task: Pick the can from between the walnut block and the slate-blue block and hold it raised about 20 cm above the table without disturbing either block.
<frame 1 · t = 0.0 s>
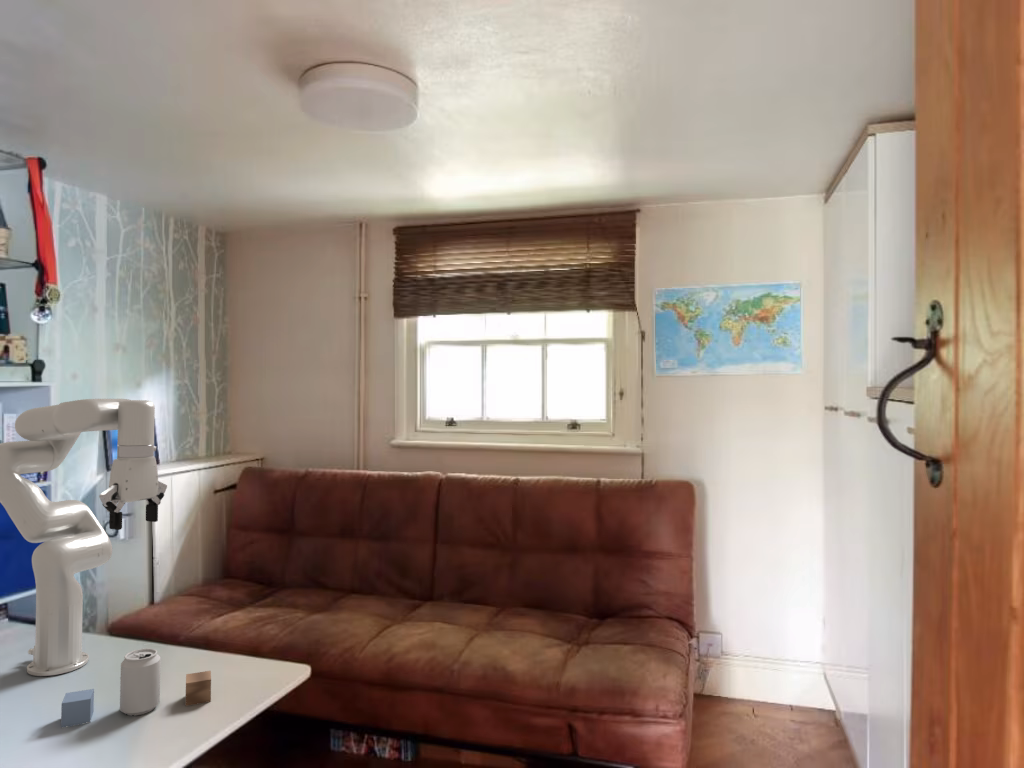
hand: (134, 525, 155), 37 cm above the table, tool pointing down, fingers open, 9 cm apart
can: (139, 709, 142), on the table
walnut block: (198, 699, 147), on the table
slate block: (77, 720, 137), on the table
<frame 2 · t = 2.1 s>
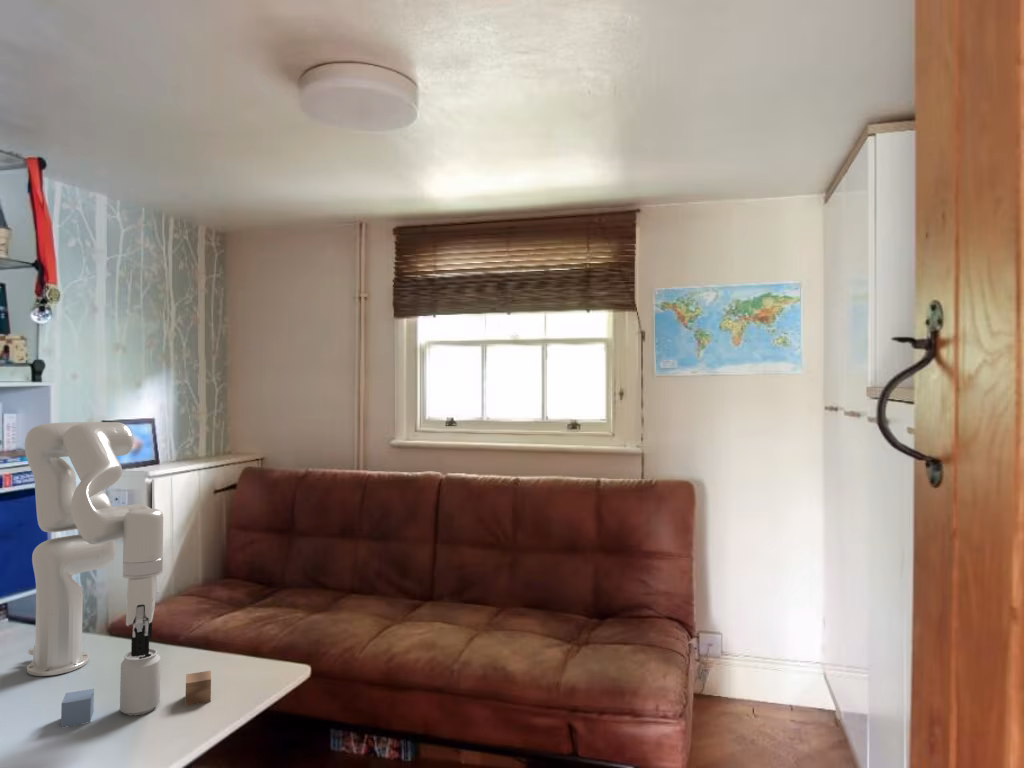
hand: (141, 647, 142), 13 cm above the table, tool pointing down, fingers open, 9 cm apart
nothing on the table moved.
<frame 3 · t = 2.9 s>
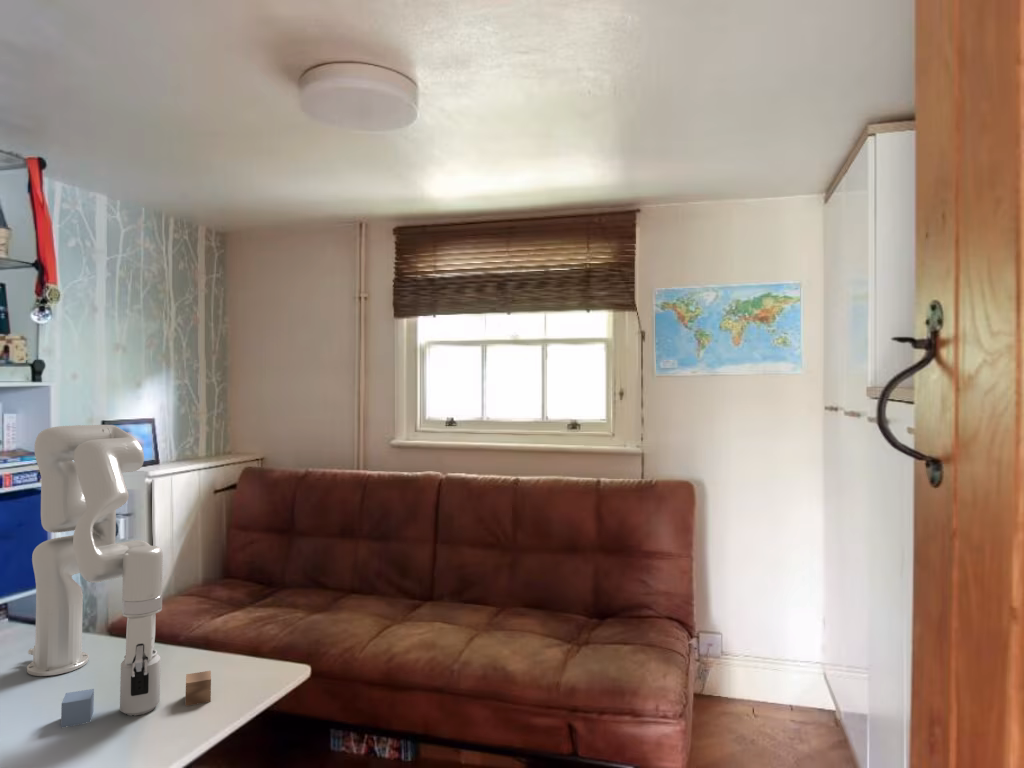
hand: (141, 685, 141), 5 cm above the table, tool pointing down, fingers open, 9 cm apart
nothing on the table moved.
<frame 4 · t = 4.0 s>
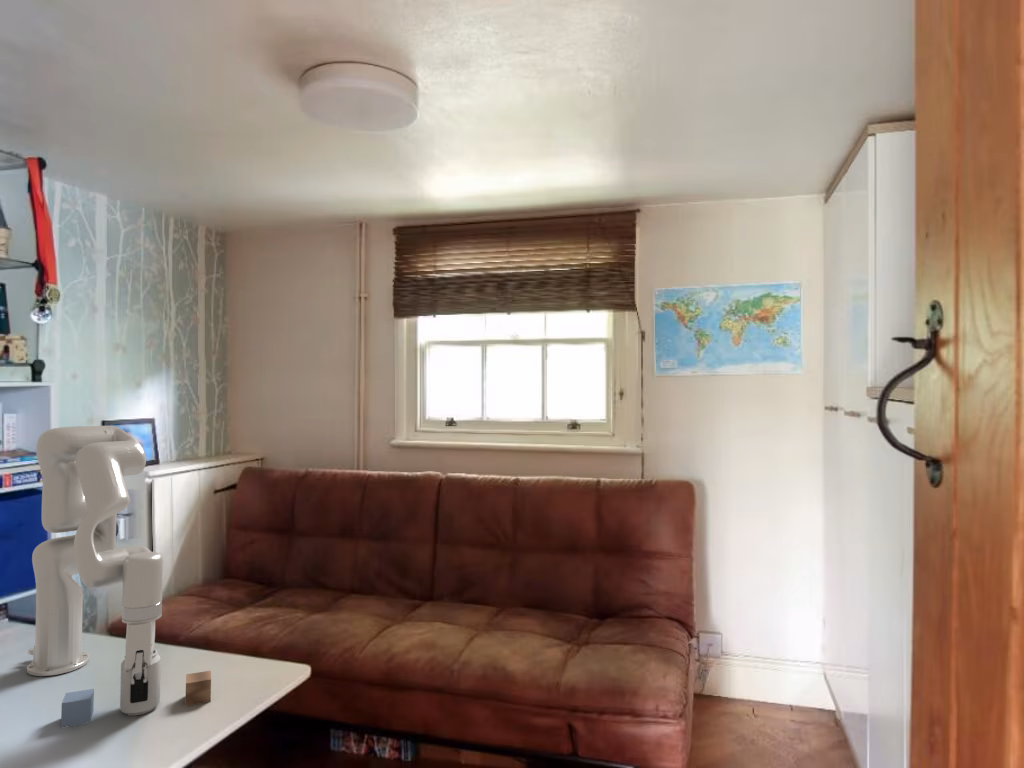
hand: (140, 692, 142), 3 cm above the table, tool pointing down, fingers closed on can, 7 cm apart
can: (140, 709, 142), on the table, touching gripper
everything else where it was.
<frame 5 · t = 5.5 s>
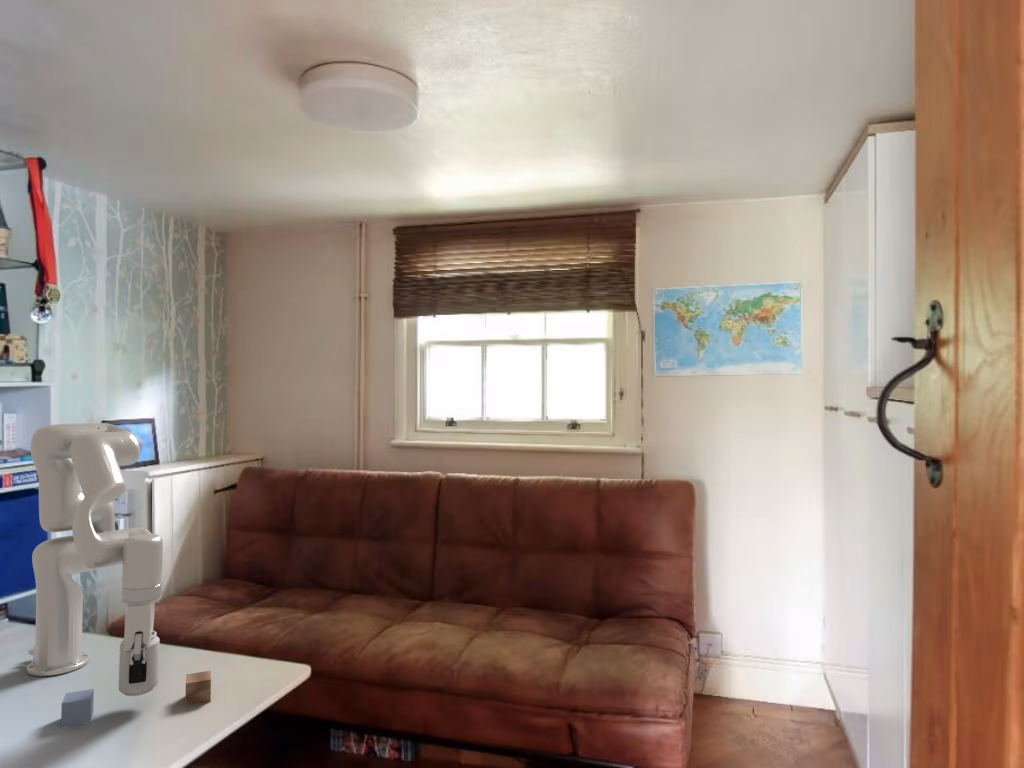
hand: (139, 673, 142), 7 cm above the table, tool pointing down, fingers closed on can, 7 cm apart
can: (138, 690, 142), point 4 cm above the table, touching gripper
everything else where it was.
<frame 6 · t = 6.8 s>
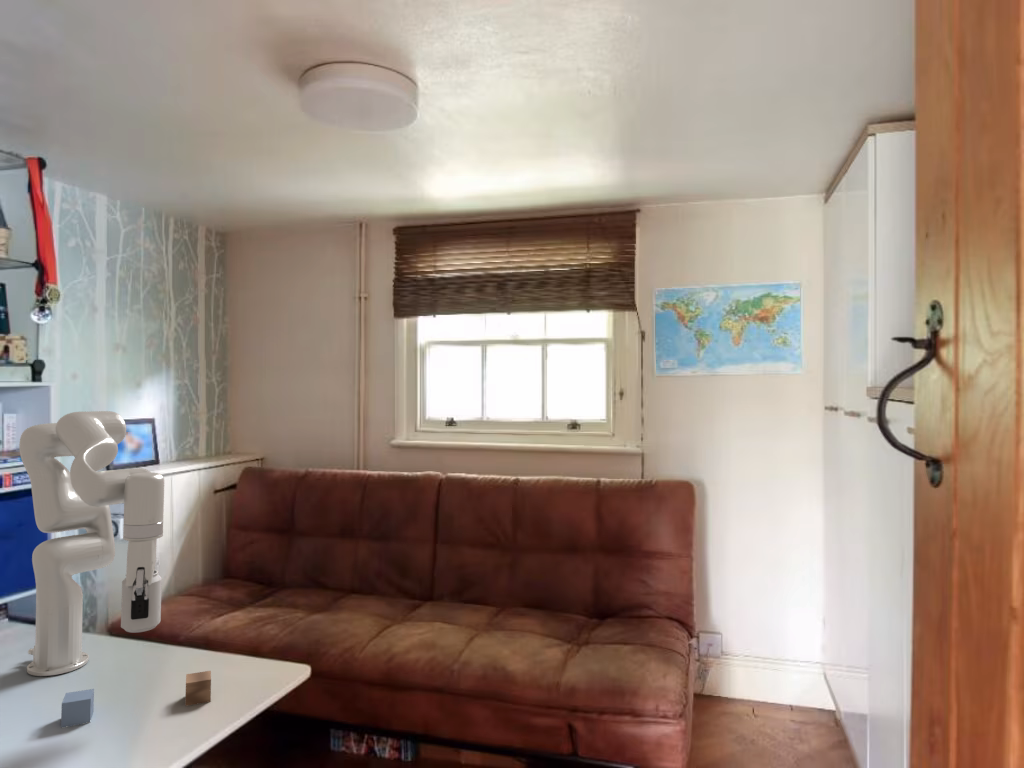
hand: (141, 611, 142), 21 cm above the table, tool pointing down, fingers closed on can, 7 cm apart
can: (140, 628, 142), point 17 cm above the table, touching gripper
everything else where it was.
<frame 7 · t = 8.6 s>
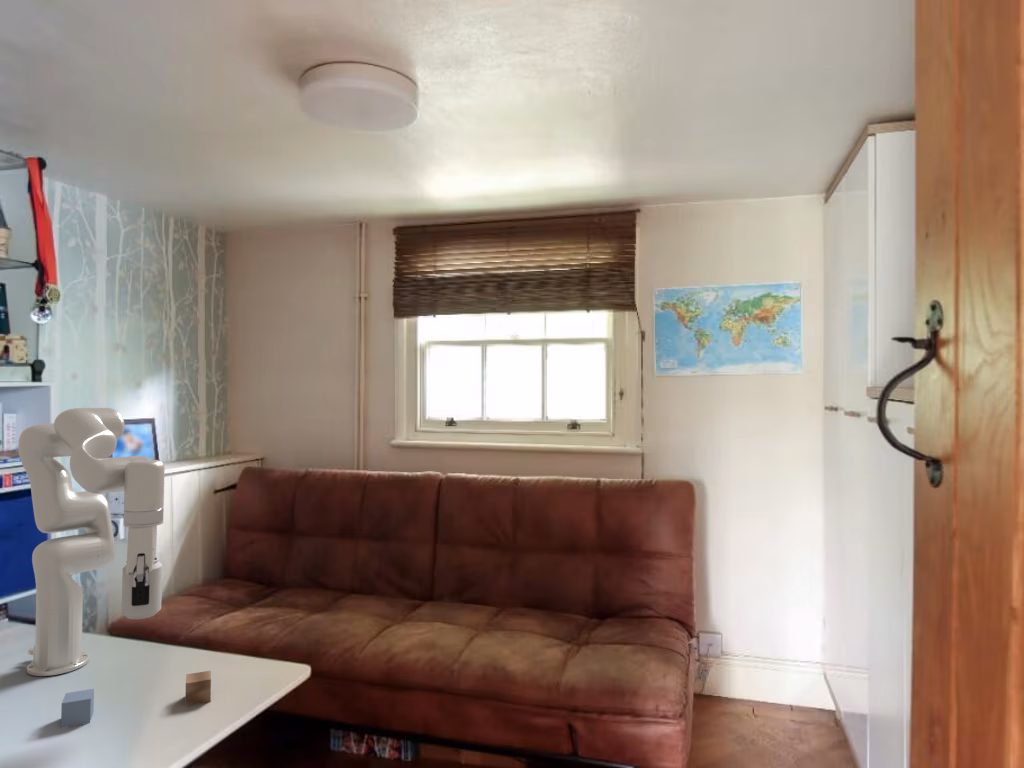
hand: (141, 598, 142), 24 cm above the table, tool pointing down, fingers closed on can, 7 cm apart
can: (141, 615, 142), point 20 cm above the table, touching gripper
everything else where it was.
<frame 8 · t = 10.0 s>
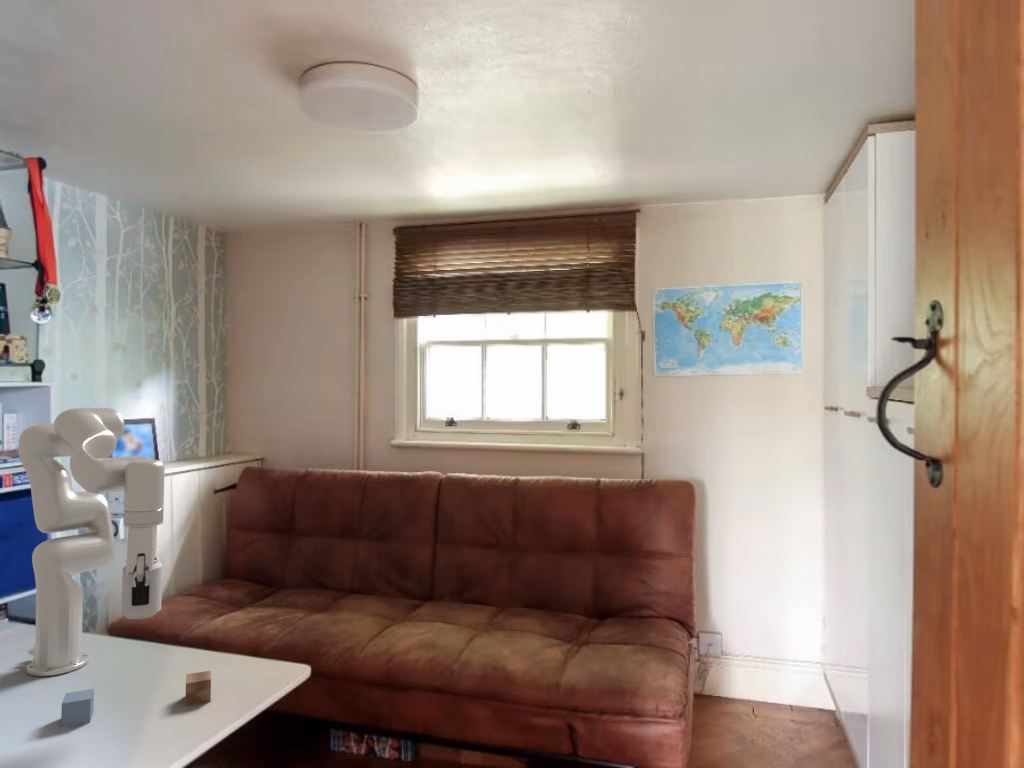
hand: (141, 598, 142), 24 cm above the table, tool pointing down, fingers closed on can, 7 cm apart
can: (141, 615, 142), point 20 cm above the table, touching gripper
everything else where it was.
at the end: can point 20.0 cm above the table; walnut block moved 0.1 cm from its start; slate block moved 0.1 cm from its start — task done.
